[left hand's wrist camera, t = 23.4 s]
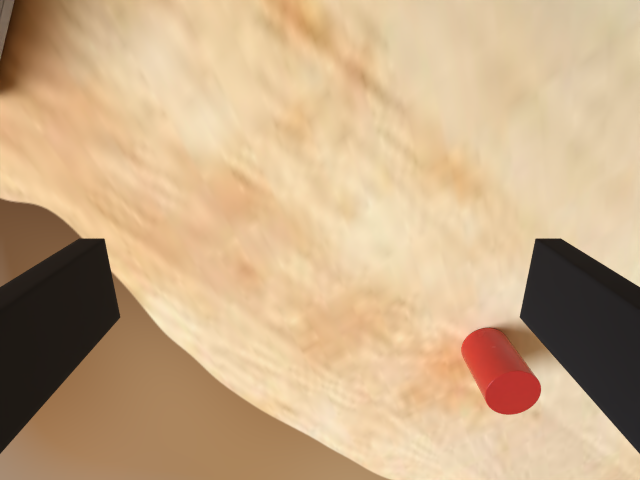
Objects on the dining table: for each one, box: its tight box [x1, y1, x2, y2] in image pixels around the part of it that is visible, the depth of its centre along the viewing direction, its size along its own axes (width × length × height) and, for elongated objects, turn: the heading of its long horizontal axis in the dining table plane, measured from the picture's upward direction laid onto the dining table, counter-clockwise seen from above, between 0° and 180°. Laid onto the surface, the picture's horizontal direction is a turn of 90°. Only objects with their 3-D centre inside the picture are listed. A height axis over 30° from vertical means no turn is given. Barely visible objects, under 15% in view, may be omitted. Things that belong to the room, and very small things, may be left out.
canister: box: [461, 328, 541, 415], centre depth 44 cm, size 6×6×8 cm
